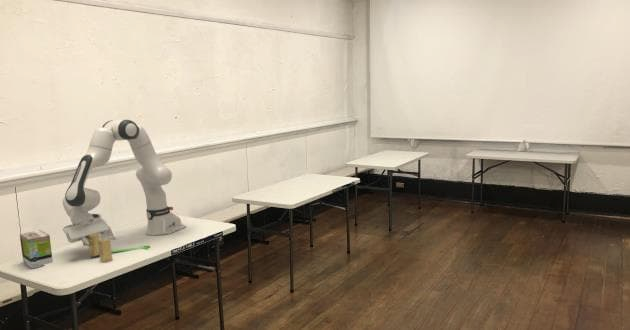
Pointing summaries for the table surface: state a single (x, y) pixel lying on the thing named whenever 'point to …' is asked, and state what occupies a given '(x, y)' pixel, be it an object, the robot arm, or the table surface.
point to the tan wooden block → (105, 250)
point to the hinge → (106, 236)
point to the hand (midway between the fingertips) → (94, 243)
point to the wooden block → (93, 244)
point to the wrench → (131, 249)
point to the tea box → (36, 248)
